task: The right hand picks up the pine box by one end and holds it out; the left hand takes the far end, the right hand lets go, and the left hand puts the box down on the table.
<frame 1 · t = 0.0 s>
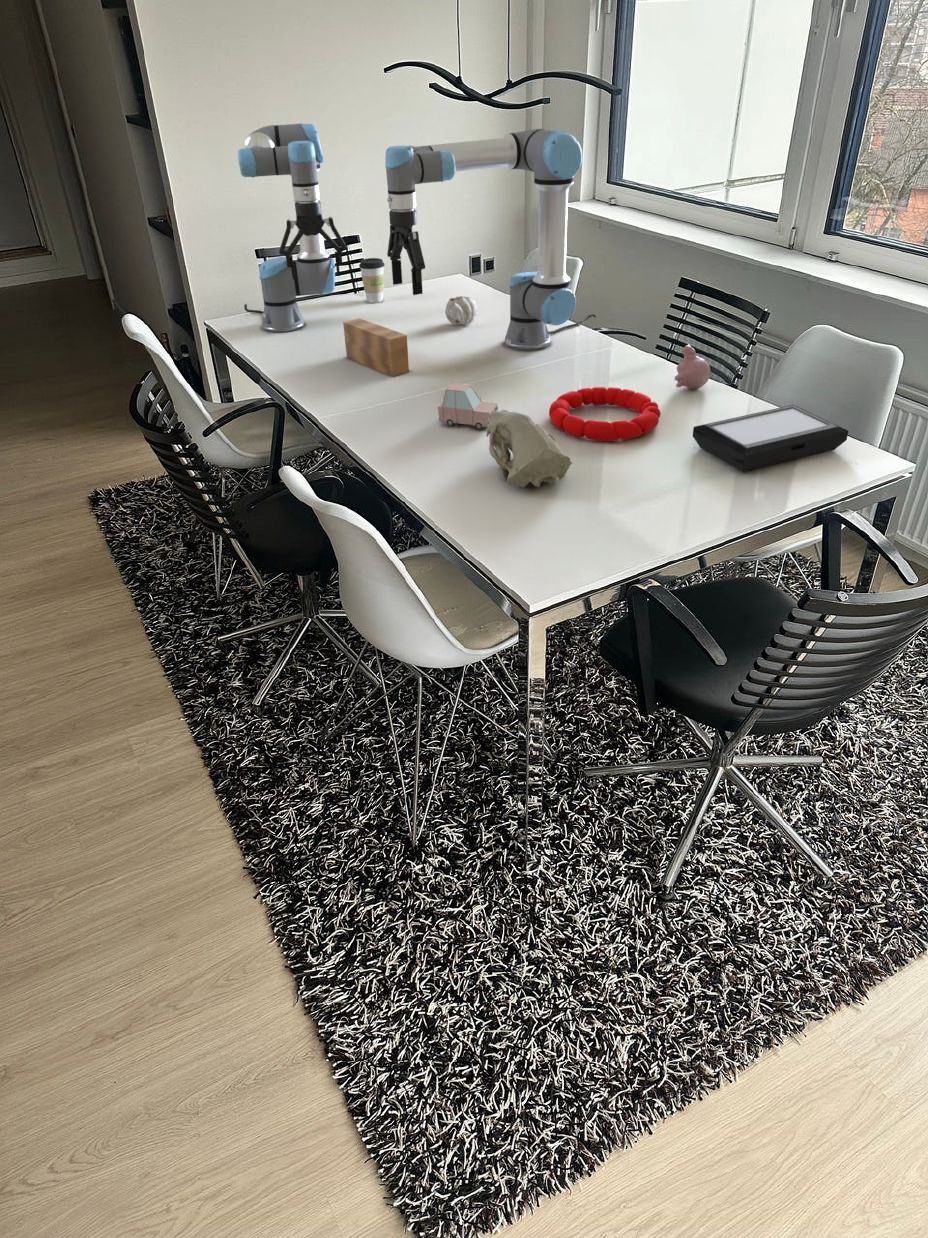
left hand: (316, 276, 273), 28 cm above the table, tool pointing down, fingers open, 13 cm apart
right hand: (407, 288, 258), 28 cm above the table, tool pointing down, fingers open, 13 cm apart
toy car: (468, 423, 246), on the table
box: (377, 364, 289), on the table
coffee cup: (374, 300, 352), on the table
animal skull: (520, 470, 220), on the table
decorative ring: (603, 422, 244), on the table
seashell: (462, 324, 322), on the table
figurine: (690, 388, 263), on the table
electronic device: (766, 449, 226), on the table
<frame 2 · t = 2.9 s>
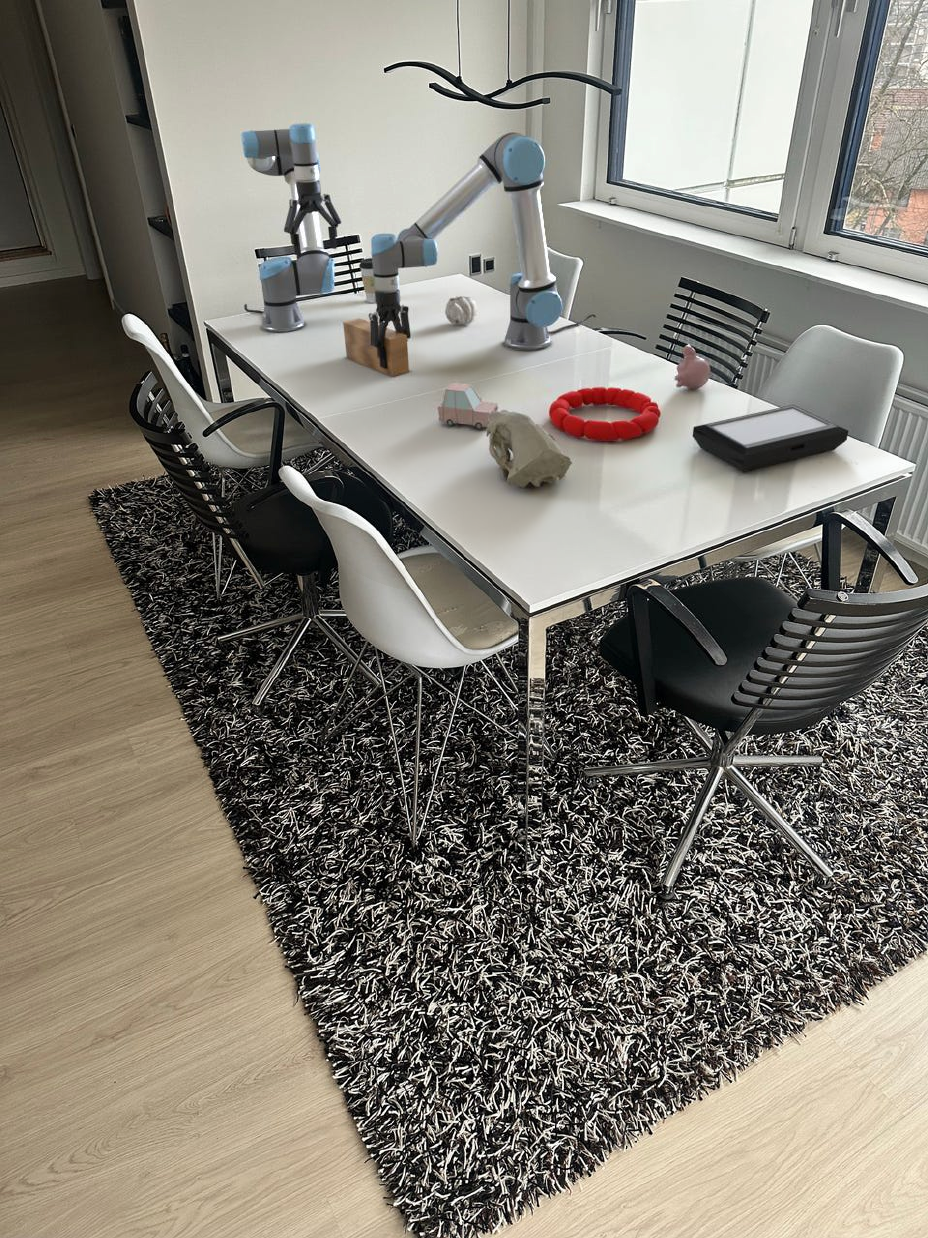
left hand: (316, 251, 291), 30 cm above the table, tool pointing down, fingers open, 13 cm apart
right hand: (392, 364, 282), 2 cm above the table, tool pointing down, fingers closed on box, 6 cm apart
box: (377, 364, 289), on the table, touching right hand
everything else where it was.
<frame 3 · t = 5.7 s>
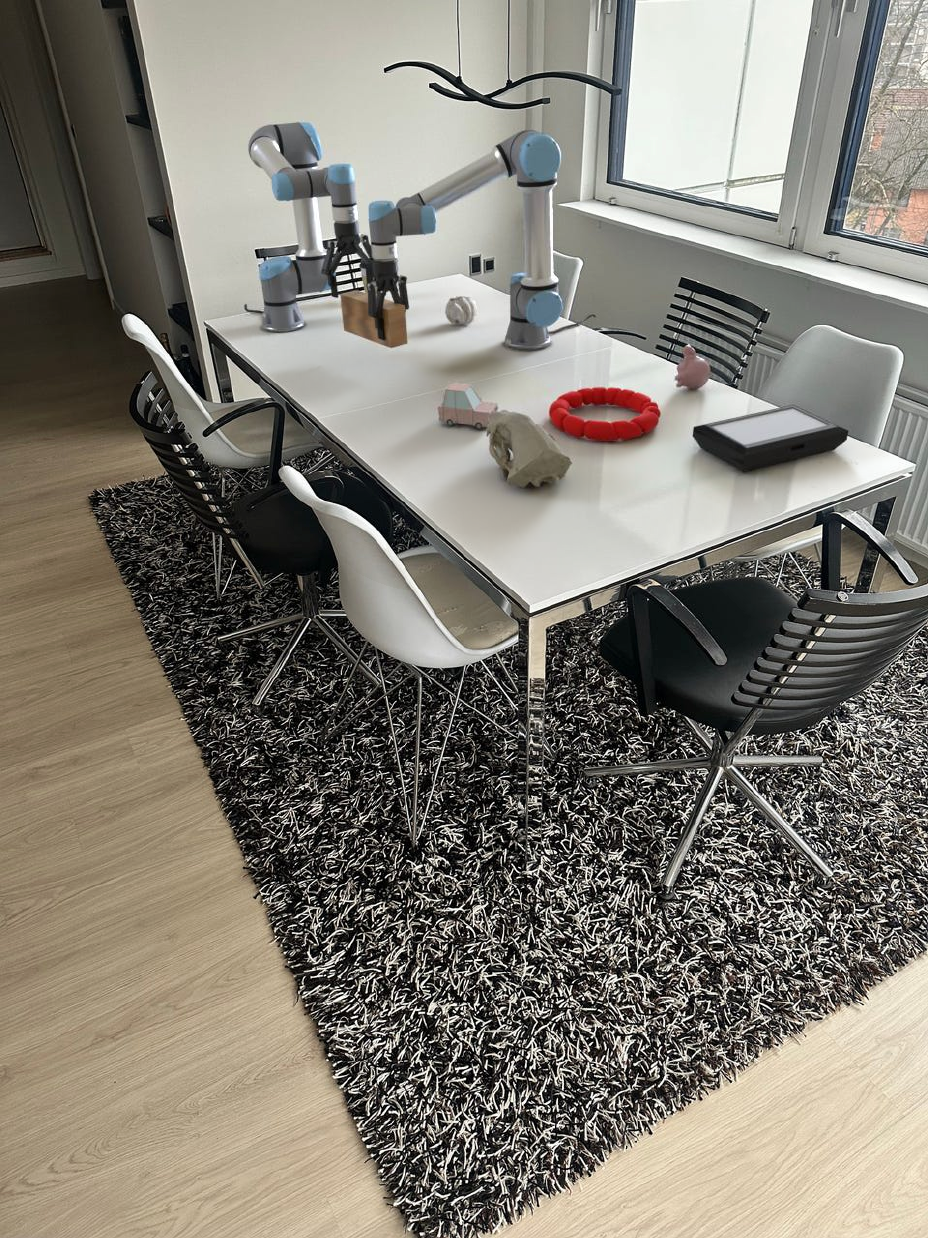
left hand: (353, 292, 283), 21 cm above the table, tool pointing down, fingers open, 13 cm apart
right hand: (390, 336, 277), 11 cm above the table, tool pointing down, fingers closed on box, 6 cm apart
box: (375, 336, 284), point 9 cm above the table, touching right hand
everything else where it was.
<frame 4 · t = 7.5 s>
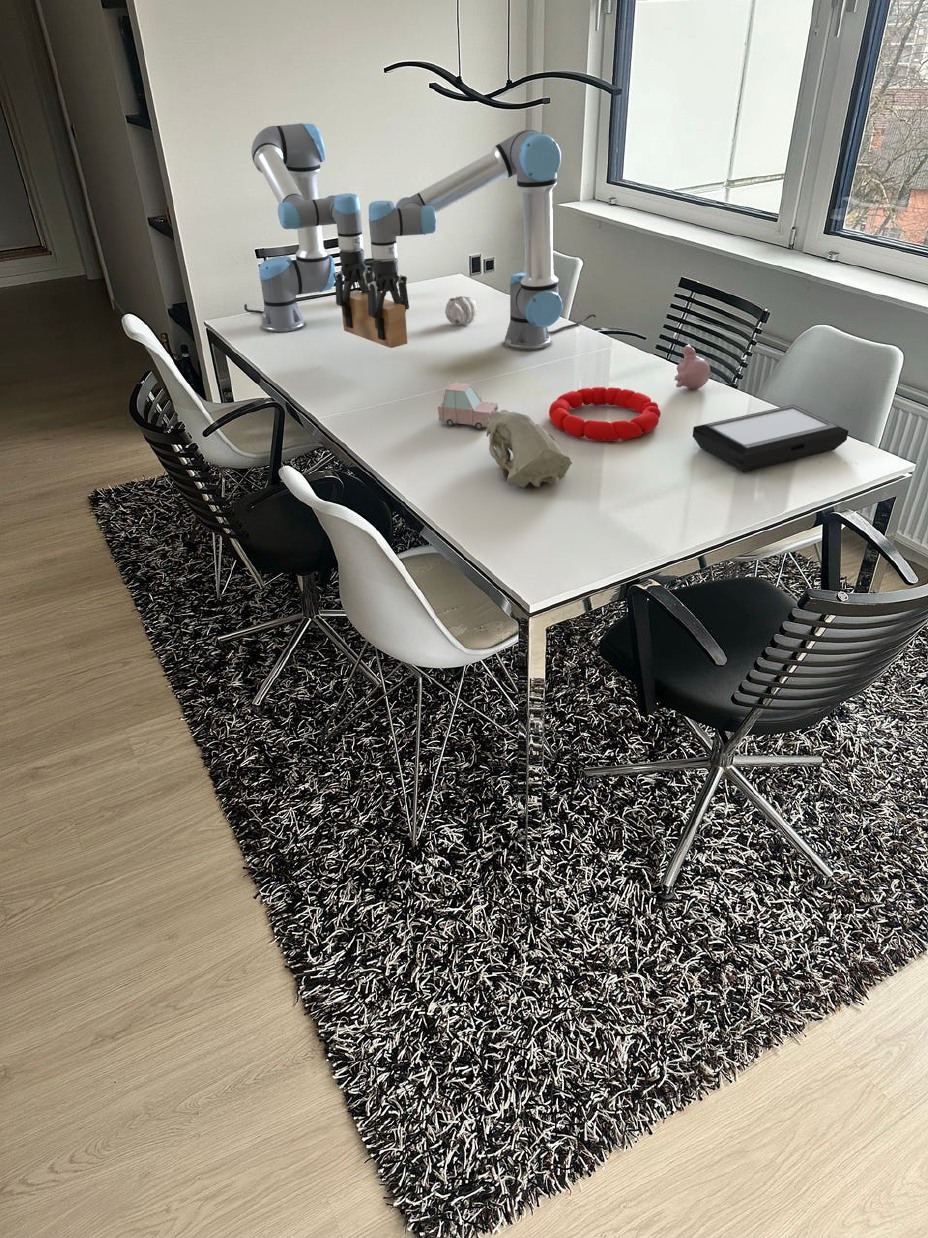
left hand: (358, 324, 288), 11 cm above the table, tool pointing down, fingers closed on box, 6 cm apart
right hand: (390, 336, 277), 11 cm above the table, tool pointing down, fingers closed on box, 6 cm apart
box: (375, 336, 284), point 9 cm above the table, touching left hand, right hand
everything else where it was.
when the right hand's fingers open (11 cm above the table, at t = 8.4 s): box stays where it is, held by the left hand.
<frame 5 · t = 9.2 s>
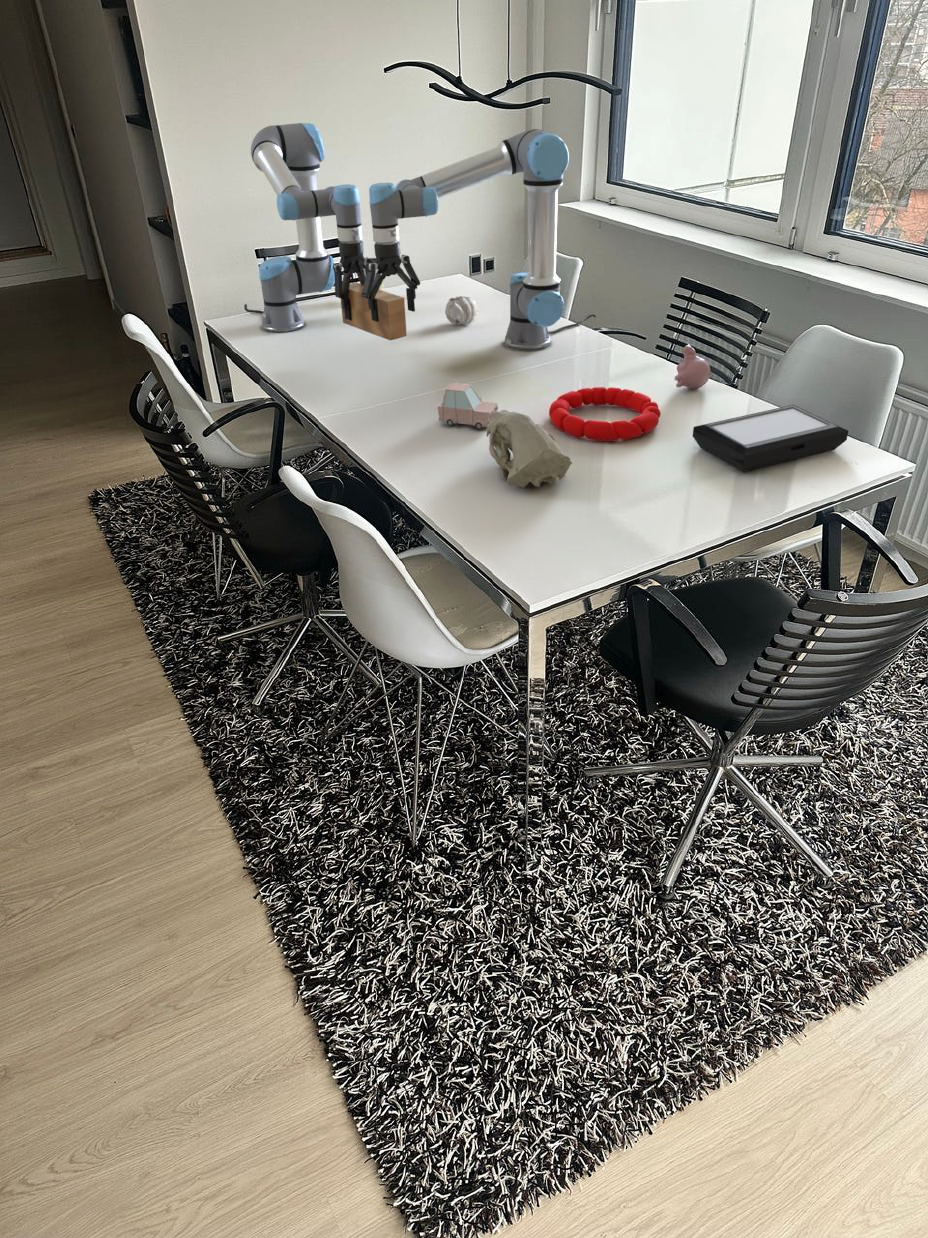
left hand: (357, 316, 287), 14 cm above the table, tool pointing down, fingers closed on box, 6 cm apart
right hand: (393, 315, 272), 18 cm above the table, tool pointing down, fingers open, 13 cm apart
box: (374, 329, 283), point 11 cm above the table, touching left hand
everything else where it was.
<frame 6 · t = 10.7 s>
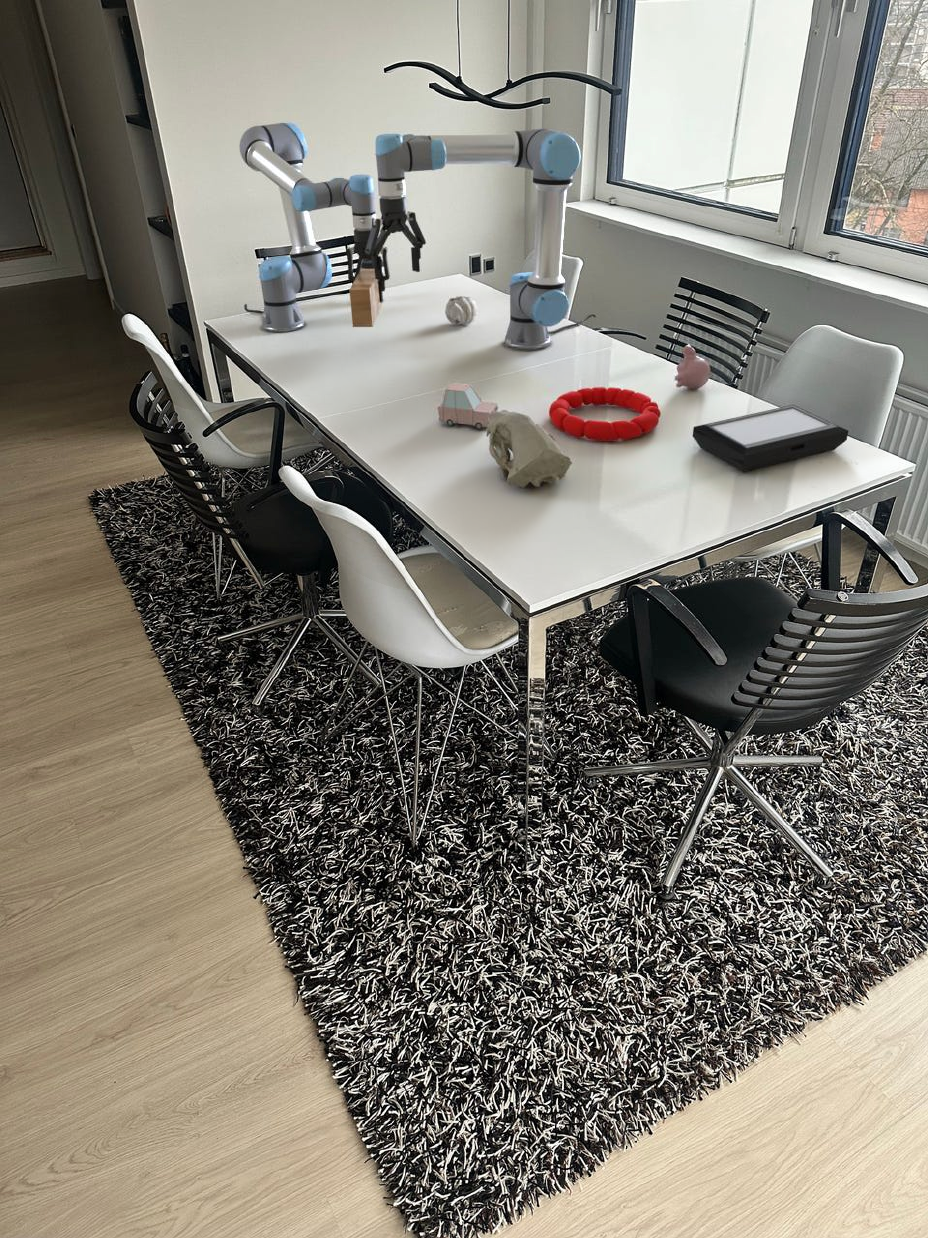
left hand: (370, 300, 301), 14 cm above the table, tool pointing down, fingers closed on box, 6 cm apart
right hand: (397, 275, 262), 30 cm above the table, tool pointing down, fingers open, 13 cm apart
box: (368, 315, 295), point 11 cm above the table, touching left hand
everything else where it was.
when the left hand's fingers open (3 cm above the table, at t = 14.0 s): box stays where it is, on the table.
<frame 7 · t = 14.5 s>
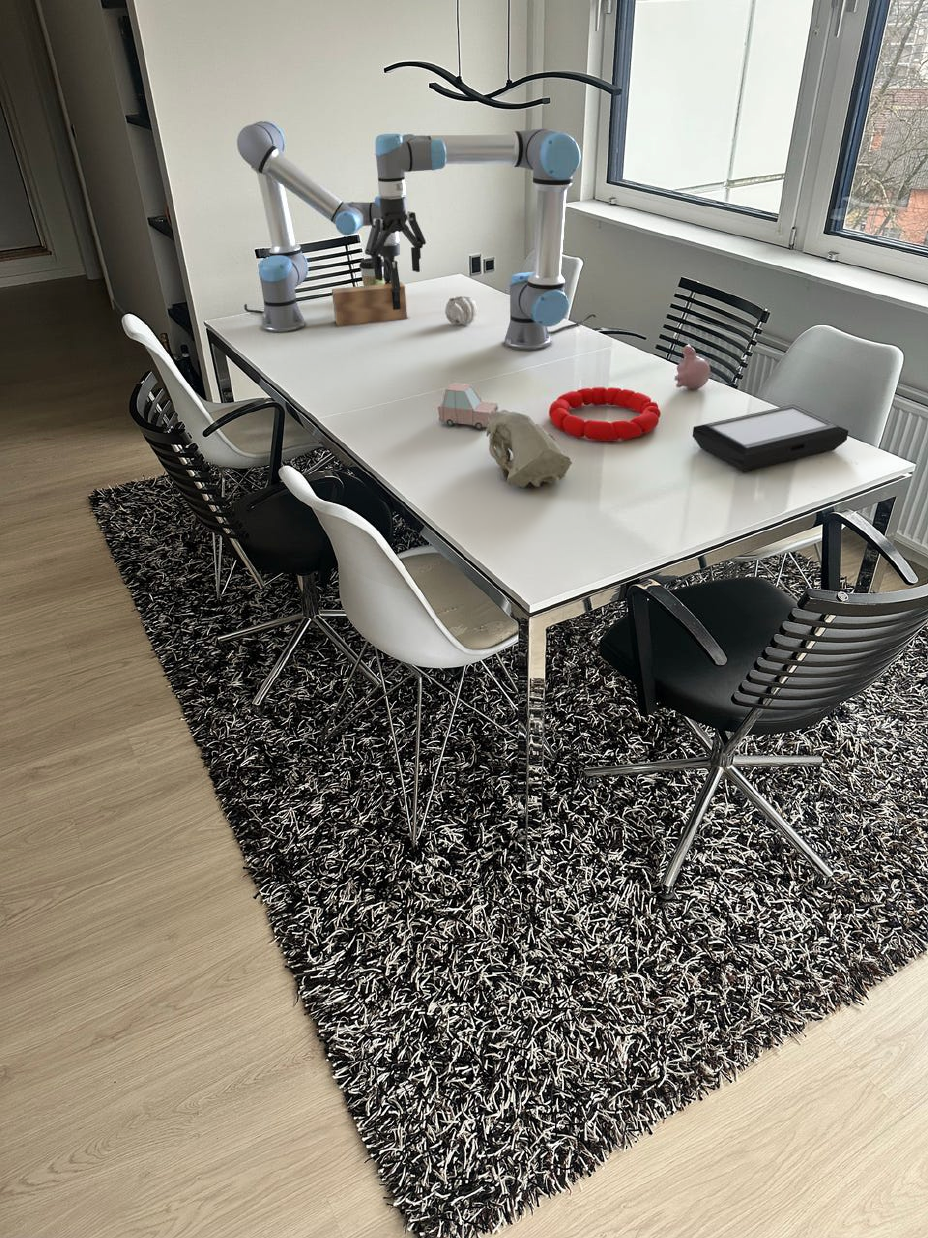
left hand: (393, 304, 330), 5 cm above the table, tool pointing down, fingers open, 13 cm apart
right hand: (397, 275, 262), 30 cm above the table, tool pointing down, fingers open, 13 cm apart
box: (371, 319, 330), on the table
everything else where it was.
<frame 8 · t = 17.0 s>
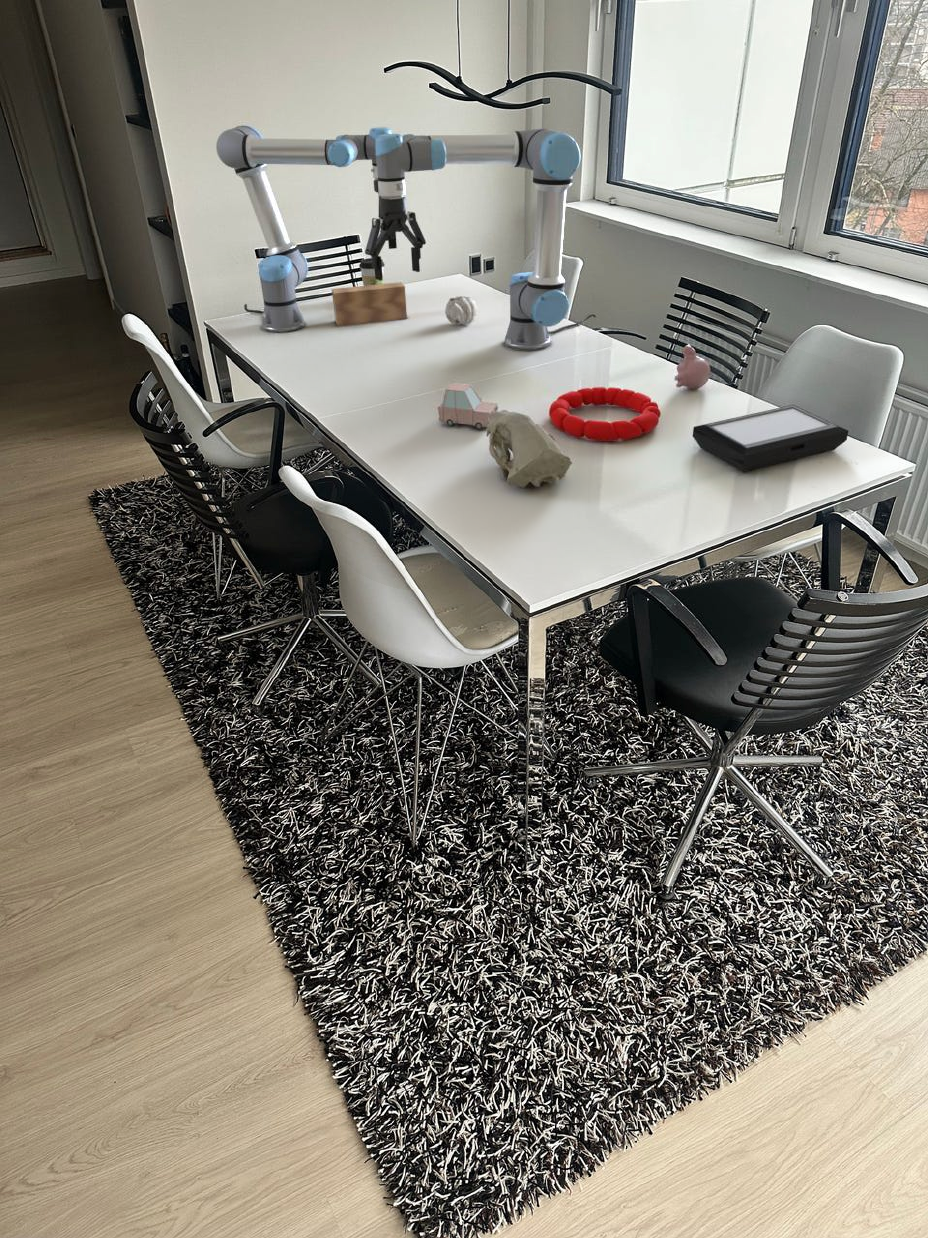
left hand: (389, 244, 318), 26 cm above the table, tool pointing down, fingers open, 13 cm apart
right hand: (397, 275, 262), 30 cm above the table, tool pointing down, fingers open, 13 cm apart
nothing on the table moved.
at the end: box inside the target area (8.8 cm from its centre), on the table; the left hand is holding nothing; the right hand is holding nothing; box at rest at the end (0.0 cm/s) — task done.
